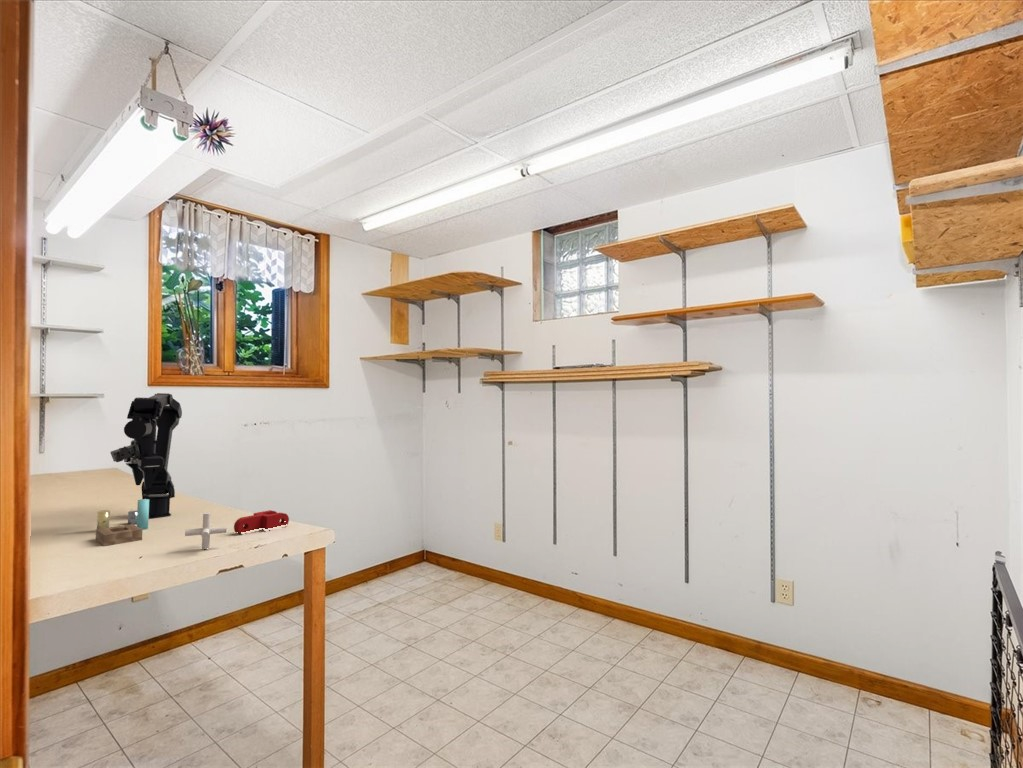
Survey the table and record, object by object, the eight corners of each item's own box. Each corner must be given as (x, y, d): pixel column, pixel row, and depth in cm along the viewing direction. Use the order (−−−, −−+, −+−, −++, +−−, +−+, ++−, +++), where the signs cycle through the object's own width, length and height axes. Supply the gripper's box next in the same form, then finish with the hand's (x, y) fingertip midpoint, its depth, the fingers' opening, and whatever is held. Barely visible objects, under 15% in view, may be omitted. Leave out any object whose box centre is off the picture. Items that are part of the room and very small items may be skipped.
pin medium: (107, 529, 166) (108, 509, 166) (110, 530, 164) (111, 511, 164) (95, 530, 164) (96, 511, 164) (98, 532, 162) (99, 512, 162)
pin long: (146, 527, 170) (147, 498, 170) (149, 528, 168) (150, 500, 168) (135, 528, 168) (136, 500, 168) (138, 530, 166) (139, 501, 166)
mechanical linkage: (275, 524, 179) (275, 509, 179) (288, 527, 175) (289, 512, 176) (229, 533, 166) (229, 517, 166) (242, 537, 162) (243, 521, 162)
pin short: (137, 522, 176) (137, 510, 176) (140, 523, 174) (140, 511, 174) (126, 523, 173) (126, 511, 173) (129, 525, 171) (129, 512, 172)
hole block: (132, 533, 162) (132, 524, 162) (142, 539, 156) (142, 529, 156) (95, 539, 155) (96, 529, 155) (104, 545, 149) (104, 535, 149)
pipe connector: (183, 556, 142) (184, 518, 142) (186, 546, 151) (187, 510, 151) (225, 552, 147) (226, 515, 147) (226, 542, 155) (227, 508, 156)
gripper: (106, 436, 169) (103, 486, 168) (123, 439, 156) (120, 492, 156) (147, 435, 177) (144, 482, 176) (166, 438, 165) (163, 489, 164)
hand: (142, 486), depth 168 cm, fingers open, 9 cm apart
